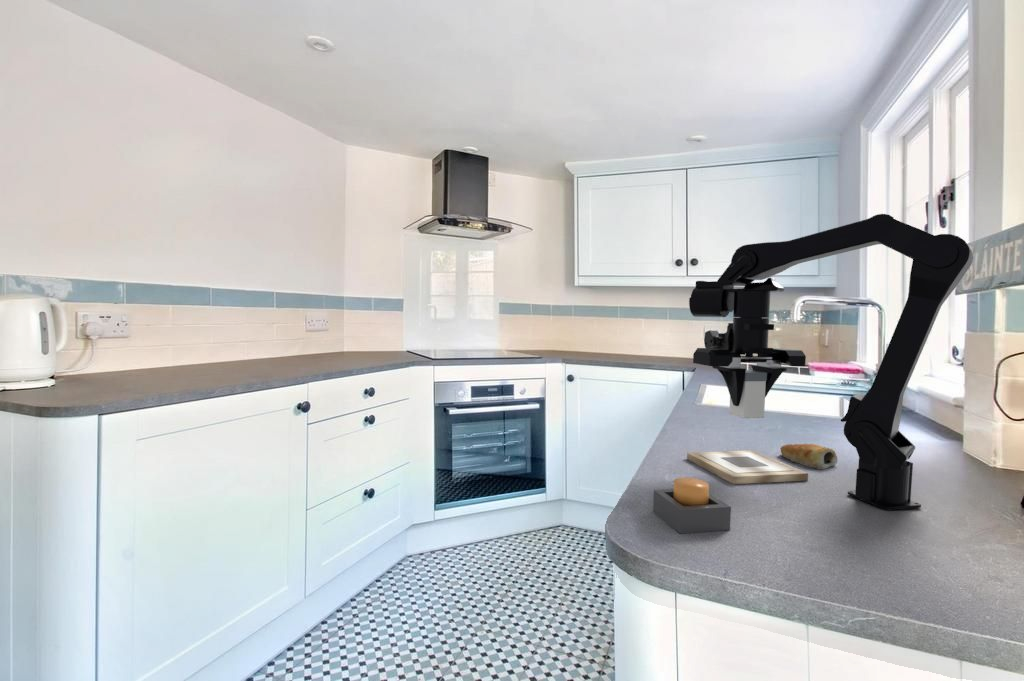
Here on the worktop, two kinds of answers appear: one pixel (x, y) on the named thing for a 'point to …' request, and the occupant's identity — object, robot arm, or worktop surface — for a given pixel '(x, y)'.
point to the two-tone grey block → (751, 396)
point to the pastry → (810, 455)
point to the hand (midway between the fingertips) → (746, 405)
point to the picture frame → (746, 467)
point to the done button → (691, 492)
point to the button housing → (691, 513)
